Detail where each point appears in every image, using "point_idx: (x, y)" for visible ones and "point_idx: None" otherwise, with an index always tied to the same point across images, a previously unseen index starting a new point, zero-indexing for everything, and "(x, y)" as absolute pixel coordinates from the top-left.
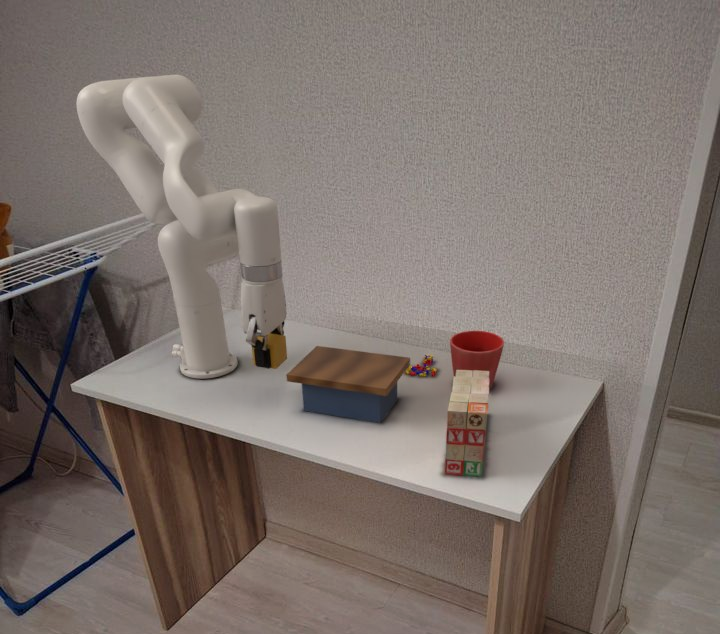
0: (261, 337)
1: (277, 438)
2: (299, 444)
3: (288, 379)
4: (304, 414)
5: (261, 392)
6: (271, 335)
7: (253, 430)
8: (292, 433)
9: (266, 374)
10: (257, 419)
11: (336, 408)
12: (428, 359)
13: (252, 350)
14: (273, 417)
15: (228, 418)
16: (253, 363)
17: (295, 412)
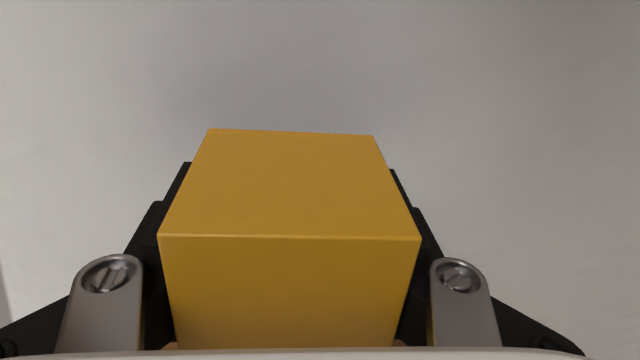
0: (298, 272)
1: (20, 249)
2: (33, 308)
3: None
4: None
5: (297, 59)
6: (362, 319)
7: (10, 163)
8: (73, 273)
9: (473, 2)
10: (87, 142)
11: None
12: None
13: (182, 188)
14: (130, 188)
15: (22, 19)
16: (207, 133)
17: None
